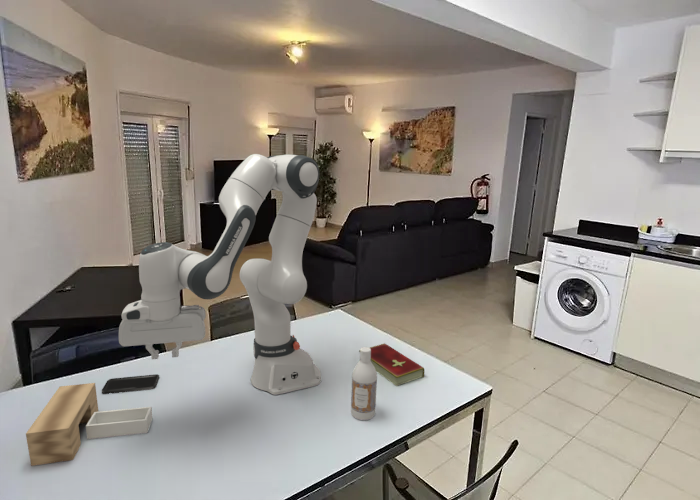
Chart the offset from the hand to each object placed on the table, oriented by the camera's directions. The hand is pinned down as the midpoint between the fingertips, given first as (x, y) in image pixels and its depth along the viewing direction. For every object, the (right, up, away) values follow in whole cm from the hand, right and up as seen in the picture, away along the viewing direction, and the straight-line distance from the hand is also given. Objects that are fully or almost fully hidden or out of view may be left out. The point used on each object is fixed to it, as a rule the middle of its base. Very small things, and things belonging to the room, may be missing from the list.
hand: (165, 357), depth 109 cm
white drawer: (-12, -19, +1) cm, 23 cm away
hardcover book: (+62, -14, +37) cm, 73 cm away
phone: (-20, -15, +21) cm, 33 cm away
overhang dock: (-24, -19, -2) cm, 31 cm away
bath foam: (+52, -19, +11) cm, 56 cm away
